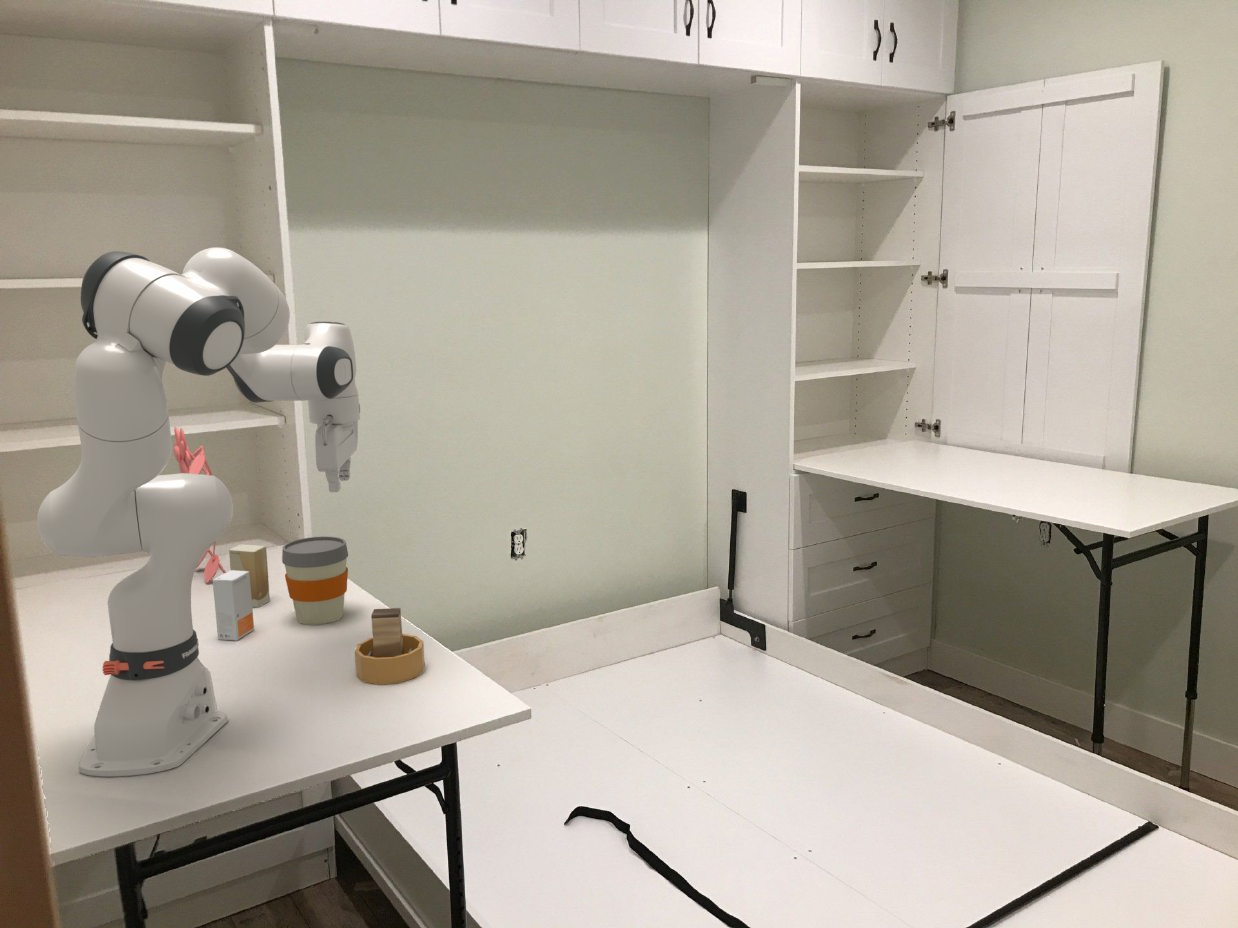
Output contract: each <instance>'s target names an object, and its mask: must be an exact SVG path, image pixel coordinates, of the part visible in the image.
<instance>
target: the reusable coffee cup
mask: <svg viewBox="0 0 1238 928" xmlns="http://www.w3.org/2000/svg"><path fill="white" fill-rule="evenodd" d="M347 546H348V545H347V541H346V540H345V539H344V538H342V537H337V536H328V535H327V536H324V535H323V536H311V537H303V538H299V539H296V540H291V541H289V542H287V543H285V544H284V545H283V546H282V552H281V553H282V555H281V556H282V557H281V561H282V564H283V565H284V567H285V575H284V578H285V582H286V587H287V591H288V595H289V598H290V599H291V600H292V602H293V607H294V612H295V616H296V620H297V622H298V623H299V624H302V625H309V626H310V625H313V626H314V625H325V624H330V623H333V622H336V621H338V620H340V619H341V618H343V616H344V611H345V609H344V607H345V593H347V591H348V575H349V569H348V568H349V567H347V558H348V556H349V552H348V547H347Z"/></svg>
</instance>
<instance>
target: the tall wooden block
mask: <svg viewBox="0 0 1238 928" xmlns="http://www.w3.org/2000/svg"><path fill="white" fill-rule="evenodd" d="M401 610H402V609H401V607H393V608H392V607H390V608H374V609H373V610H372V613H371V615H370V617H371V630H372V631H371V633H372V637H373V647H374V657H376V658H382V657H395V656H399V655H403V639H402V634H403V630H402V629H403V626H402V612H401Z"/></svg>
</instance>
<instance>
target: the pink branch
mask: <svg viewBox="0 0 1238 928" xmlns="http://www.w3.org/2000/svg"><path fill="white" fill-rule="evenodd" d="M173 431H174V432H173V433H174V436H175V437H174V438H175V441H174V444H173V445H174V447H173V455H174V457H175V460H176V461H177V463H178V466H179V471H180V473H188V474H201V472H204V473H205V475H211V476H214V475H213V473H212V471H211V469H210V465H209V463H208V461H207V458H206V454H205V450H204V449H205V447H204V446H203V445H200V446H199V448H197V449H196V450H195V451H194V452H193V453H192V452H191V450H190V448H189V446H188V445H187V438H186V434H185V431H184V430H183V428H181V427H180V429H178V427H177V426H174V430H173ZM204 466H205V467H204ZM216 541H217V540H216ZM216 541H215V542H214V543H213V550H212V551H211V550H210V549H211V546H212V545H211V546H210V547H209V548H208V549H207V551H206V552H205V553H204V555H203V556H202V557H201V559H200V561H199V563H198V565H197V567H196V569H197V568H198V567H200V565H201V563H202V562H203V561H204V559H205V558H206V556H207V554H209V555H210V557H209V559H208V560H207V562H206V564H205V567H204V572H203V573H204V581H205V584H209V583H210V582H211V581H212V580H213V578H214V577H215V575H216V574H217V572H218V571H219V569H220V570H221V572H222V574H224V573H227V572H226V570H225V569H224V567H223V566H222V565H221V563H220V557H219V555H218V554H216V552H215V551H216Z"/></svg>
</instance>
